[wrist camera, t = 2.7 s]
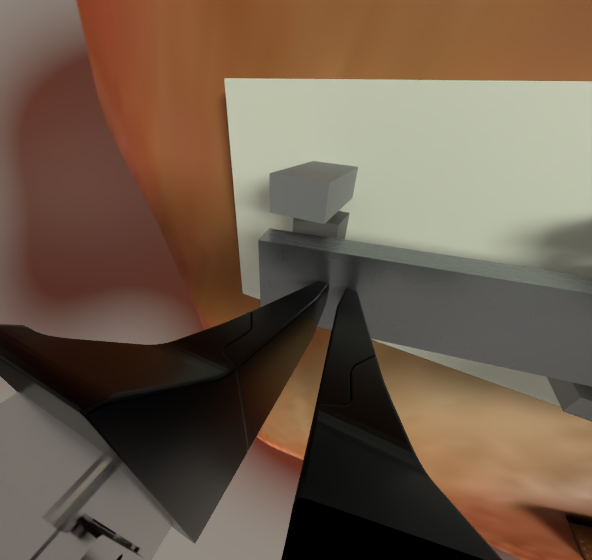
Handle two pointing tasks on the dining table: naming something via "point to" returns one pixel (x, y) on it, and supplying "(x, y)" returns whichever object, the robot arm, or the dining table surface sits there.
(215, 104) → the dining table surface
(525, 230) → the base
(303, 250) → the bar
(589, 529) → the sunglasses case
